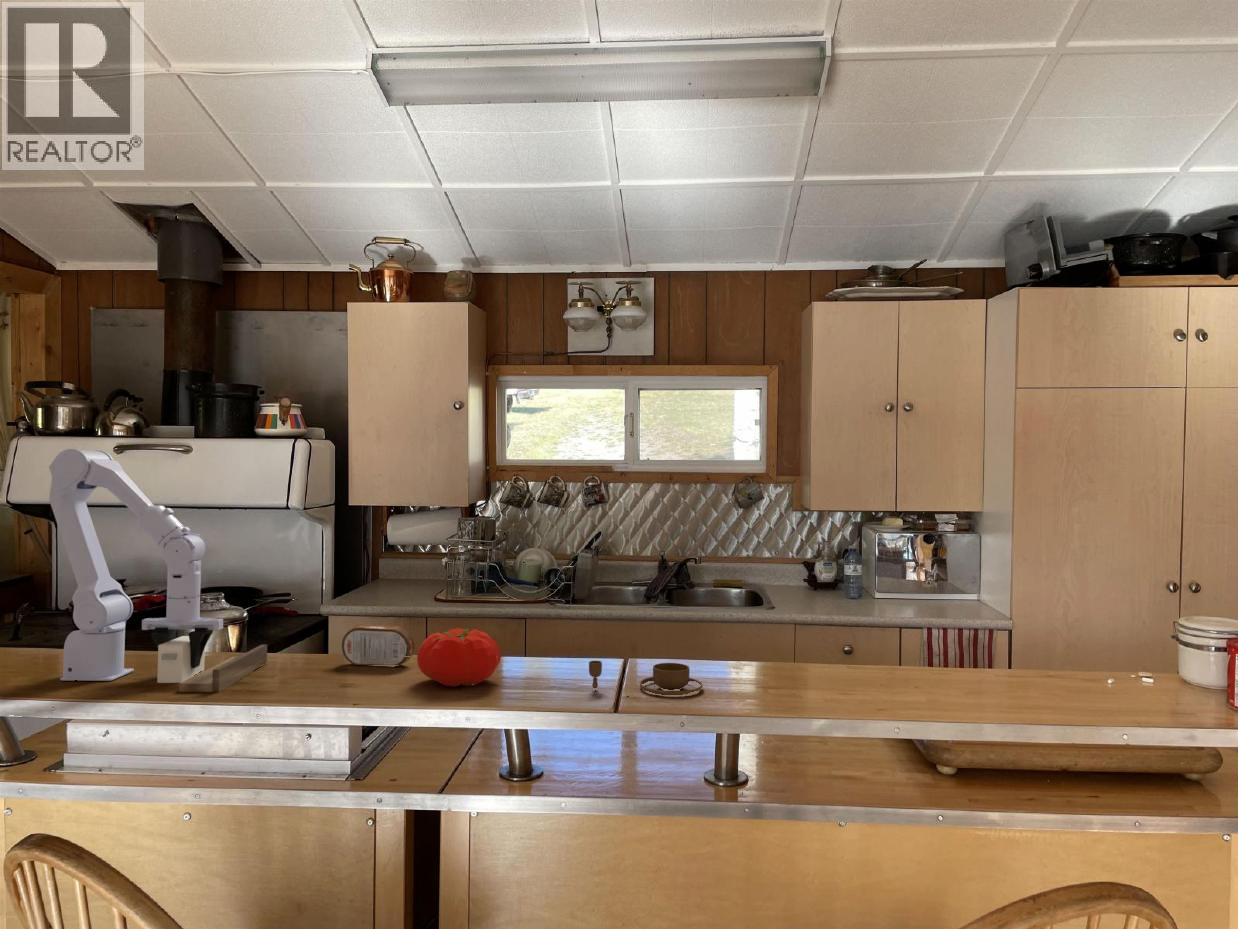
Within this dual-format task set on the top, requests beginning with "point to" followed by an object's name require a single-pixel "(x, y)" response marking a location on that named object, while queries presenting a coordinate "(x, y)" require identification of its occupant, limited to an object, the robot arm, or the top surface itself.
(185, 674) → the cabinet block
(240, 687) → the top surface
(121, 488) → the robot arm
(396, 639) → the tin
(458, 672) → the tomato
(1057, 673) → the top surface
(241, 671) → the ledge board
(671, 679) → the place setting
